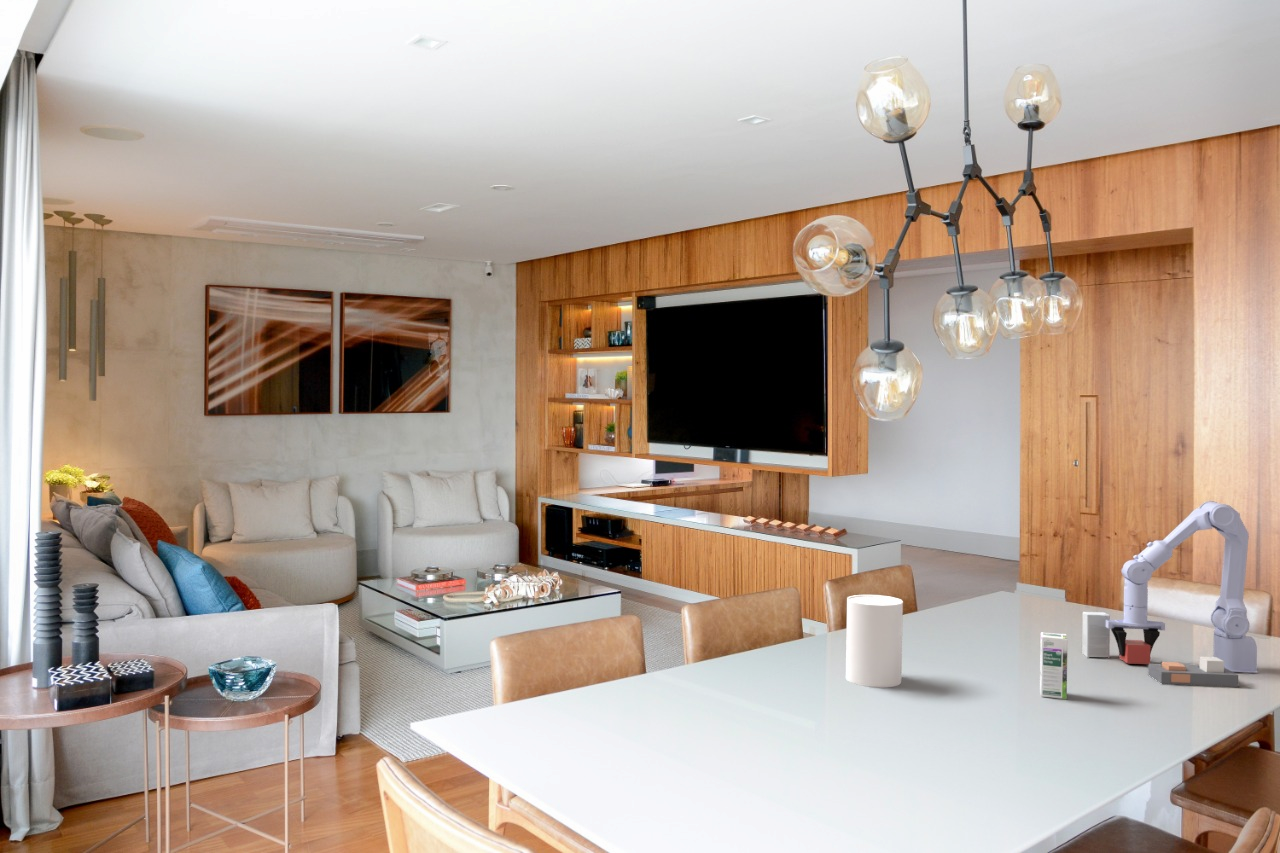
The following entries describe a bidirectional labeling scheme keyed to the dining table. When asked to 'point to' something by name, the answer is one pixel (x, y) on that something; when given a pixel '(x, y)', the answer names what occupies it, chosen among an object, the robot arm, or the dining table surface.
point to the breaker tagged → (1173, 666)
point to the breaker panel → (1193, 676)
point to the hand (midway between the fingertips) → (1134, 655)
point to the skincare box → (1095, 634)
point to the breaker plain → (1212, 664)
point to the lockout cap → (1136, 652)
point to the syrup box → (1053, 665)
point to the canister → (874, 640)
